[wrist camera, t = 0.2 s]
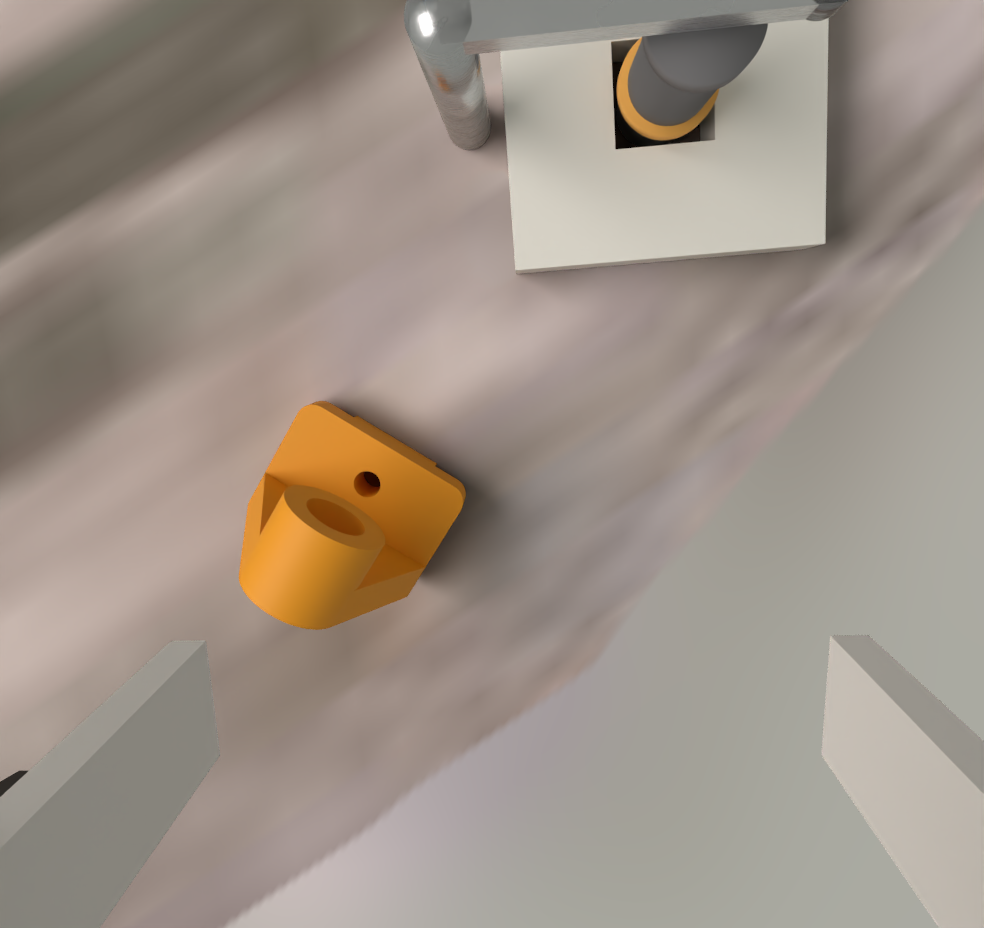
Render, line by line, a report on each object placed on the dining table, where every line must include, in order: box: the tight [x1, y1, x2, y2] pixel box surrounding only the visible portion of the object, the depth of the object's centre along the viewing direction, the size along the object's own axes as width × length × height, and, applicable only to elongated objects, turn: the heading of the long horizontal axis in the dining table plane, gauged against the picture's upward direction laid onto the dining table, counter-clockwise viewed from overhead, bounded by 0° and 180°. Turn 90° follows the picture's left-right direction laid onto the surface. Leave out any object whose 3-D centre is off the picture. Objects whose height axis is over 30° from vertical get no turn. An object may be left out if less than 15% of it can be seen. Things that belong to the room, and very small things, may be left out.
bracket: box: [239, 401, 466, 630], centre depth 37 cm, size 11×7×12 cm, turn 59°
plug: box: [616, 23, 768, 147], centre depth 32 cm, size 5×5×12 cm
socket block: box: [500, 18, 829, 274], centre depth 36 cm, size 16×16×3 cm
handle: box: [404, 0, 848, 150], centre depth 31 cm, size 2×16×14 cm, turn 95°
